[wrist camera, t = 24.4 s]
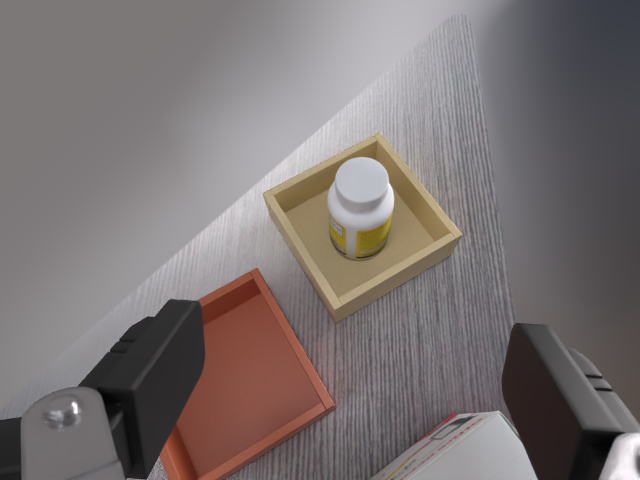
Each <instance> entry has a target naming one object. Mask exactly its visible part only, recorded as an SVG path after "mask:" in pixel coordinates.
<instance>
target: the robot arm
mask: <svg viewBox="0 0 640 480" xmlns="http://www.w3.org/2000/svg"><path fill="white" fill-rule="evenodd" d="M204 363H205V340H204V327H203V315H202V307H201V304H200V302H199V301H191V300H176V299H170V300H169V301H168V302H167V303H166V304H165V305H164V306H163V308H162V309H161V310H160V311H159V312H158V314H157V315H156V316H155V317H149V316H148V317H146V318H144V319H143V320H141V321H139V322H138V323H136V324H134V325H133V326H131V327H130V328H129V329H128V330H127V331H126V332H125V334H124V335H123V336H122V337H121V338H120V341H119V342H117V343H116V344H115V345H114V346H113V347H112V348H111V349H110V352H108V353H107V354H106V355H105V356H104V357H103V358H102V359H101V361H100V362H99V363H98V364H97V365H96V366H95V367H94V368H93V370H92V371H91V372H90V373H89V374H88V375H87V376H86V377H85V379H84V380H83V381H82V382H81V383H80V384H79V385H78V386H77V387H71V388H66V389H62V390H58V391H55V392H53V393H51V394H48V395H46V396H44V397H43V398H41V399H39V400H38V401H36V402H35V403H34V404H33V405H31V406H30V407H29V408H28V409H27V411H26V412H25V413H24V415H23V417H19V418H12V419H6V420H0V480H126V479H127V478H135V479H146V480H147V478H148V476H149V474H150V472H151V470H152V468H153V466H154V464H155V463H156V461H157V459H158V457H159V455H160V453H161V451H162V449H163V447H164V445H165V443H166V442H167V440H168V438H169V436H170V434H171V432H172V430H173V428H174V426H175V424H176V422H177V420H178V419H179V417H180V415H181V413H182V411H183V409H184V407H185V405H186V403H187V401H188V399H189V398H190V396H191V394H192V392H193V390H194V388H195V386H196V384H197V382H198V380H199V378H200V377H201V374H202V372H203V368H204ZM502 392H503V397H504V400H505V403H506V405H507V408H508V410H509V413H510V415H511V417H512V420H513V422H514V424H515V427H516V429H517V432H518V434H519V436H520V439H521V441H522V444H523V446H524V448H525V451H526V453H527V456H528V458H529V460H530V463H531V465H532V467H533V470H534V472H535V475H536V477H537V479H538V480H640V424H639V423H638V422H637V420H636V419H635V418H634V417H633V415H632V414H631V413H630V411H629V410H628V409H627V407H626V406H625V405H624V404H623V402H622V401H621V400H620V398H619V397H618V396H617V394H616V393H615V392H612V388H611V387H610V385H609V384H608V383H607V381H606V380H605V379H602V375H601V374H600V372H599V371H598V370H597V368H596V367H595V366H594V364H593V363H592V362H591V361H590V360H589V359H588V358H586V357H585V356H584V355H582V354H581V353H579V352H578V351H577V350H575V349H574V348H572V347H565V346H564V345H563V344H562V343H561V341H560V340H559V339H558V337H557V335H556V334H555V333H554V331H553V330H552V328H551V327H550V326H548V325H538V324H524V323H516V324H515V325H514V326H513V328H512V331H511V335H510V340H509V345H508V350H507V354H506V359H505V364H504V369H503V374H502Z"/></svg>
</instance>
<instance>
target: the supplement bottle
mask: <svg viewBox="0 0 640 480" xmlns="http://www.w3.org/2000/svg"><path fill="white" fill-rule="evenodd" d="M327 205H328V216H329V229H330V237H331V241H332V244H333V246H334V247H335V249H336V250H337V251H338V252H339V253H340V254H341V255H343V256H345V257H347V258H349V259H353V260H366V259H370V258H372V257H374V256H376V255H377V254H378V253H380V252H381V251H382V249H383V248H384V246H385V245H386V242H387V239H388V235H389V230H390V224H391V219H392V213H393V208H394V193H393V190H392V187H391V185H390V184H389V178H388V174H387V171H386V169H385V168H384V167H383V166H382V165H381V164H380V163H379V162H377V161H376V160H374V159H371V158H366V157H358V158H353V159H350V160H348V161H346V162H345V163H344V164H342V165H341V167H340V168H339V169H338V171H337V173H336V177H335V181H334V182H333V183H332V185H331V187H330V189H329V192H328V198H327Z"/></svg>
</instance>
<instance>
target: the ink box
mask: <svg viewBox="0 0 640 480" xmlns="http://www.w3.org/2000/svg"><path fill="white" fill-rule="evenodd" d="M370 480H538V479H537V477H536V475H535V472H534V470H533V467H532V465H531V463H530V460H529V458H528V456H527V453H526V451H525V448H524V446H523V444H522V441H521V439H520V436H519V434H518V432H517V431H516V430H515V428H514V427H513V426H512V425H511V424H510V422H509V421H508V420H507V419H506V418H505V416H504V415H503V414H502V413H501V412H500V411H496V412H486V413H472V414H452V415H450V416H449V417H448V418H446V419H445V420H444V421H442V422H441V423H440V424H439V425H437V426H436V427H435V428H434V429H432V430H431V431H430V432H429V433H427V434H426V435H425V436H424V437H422V438H421V439H420V440H419V441H417V442H416V443H415V444H414V445H413V446H411V447H410V448H409V449H407V450H406V451H405V452H403V453H402V454H401V455H400V456H398V457H397V458H396V459H395V460H393V461H392V462H391V463H390V464H388V465H387V466H386V467H385V468H383V469H382V470H381V471H380V472H378V473H377V474H376V475H375V476H373V477H372V478H371V479H370Z"/></svg>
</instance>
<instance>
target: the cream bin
mask: <svg viewBox="0 0 640 480" xmlns="http://www.w3.org/2000/svg"><path fill="white" fill-rule="evenodd" d="M358 157H366V158H371V159H374V160H376V161H377V162H379V163H380V164H381V165H382V166H383V167H384V168H385V169H386V171H387V174H388V178H389V184H390V185H391V187H392V190H393V193H394V208H393V213H392V219H391V224H390V230H389V235H388V239H387V242H386V245H385V246H384V248H383V249H382V251H381V252H380V253H378V254H377V255H376V256H374V257H372V258H370V259H366V260H353V259H349V258H347V257H345V256H343V255H341V254H340V253H339V252H338V251H337V250H336V249H335V247H334V246H333V244H332V241H331V237H330V229H329V216H328V205H327V198H328V192H329V189H330V187H331V185H332V183H333V182H334V181H335V177H336V173H337V171H338V169H339V168H340V167H341V165H342V164H344V163H345V162H346V161H348V160H350V159H353V158H358ZM263 196H264V199H265V202H266V205H267V208H268V211H269V214H270V217H271V219H272V220H273V222H274V224H275V225H276V227H277V228H278V230H279V232H280V233H281V235H282V237H283V238H284V240H285V242H286V243H287V245H288V246H289V248H290V250H291V251H292V253H293V255H294V256H295V258H296V260H297V261H298V263H299V265H300V266H301V268H302V269H303V271H304V273H305V274H306V276H307V278H308V279H309V281H310V283H311V284H312V286H313V287H314V289H315V291H316V292H317V294H318V296H319V297H320V299H321V301H322V302H323V304H324V305H325V307H326V309H327V310H328V312H329V314H330V315H331V317H332V319H333V320H334V322H335V323H338V322H340V321H341V320H343V319H345V318H346V317H348V316H350V315H351V314H353V313H355V312H356V311H358V310H360V309H361V308H363V307H365V306H367V305H368V304H370V303H372V302H373V301H375V300H377V299H378V298H380V297H382V296H383V295H385V294H387V293H388V292H390V291H392V290H393V289H395V288H397V287H398V286H400V285H402V284H403V283H405V282H407V281H408V280H410V279H412V278H414V277H415V276H417V275H419V274H420V273H422V272H424V271H425V270H427V269H429V268H430V267H432V266H434V265H435V264H437V263H439V262H440V261H442V260H444V259H445V258H447V257H449V256H450V255H451V254H452V252H453V250H454V248H455V247H456V245H457V243H458V241H459V240H460V238H461V236H462V234H461V232H460V231H459V230H458V229H457V227H456V226H455V225H454V224H453V223H452V221H451V220H450V219H449V218H448V216H447V215H446V214H445V213H444V211H443V210H442V209H441V208H440V206H439V205H438V204H437V203H436V201H435V200H434V199H433V198H432V196H431V195H430V194H429V193H428V191H427V190H426V189H425V188H424V186H423V185H422V184H421V183H420V181H419V180H418V179H417V178H416V176H415V175H414V174H413V173H412V171H411V170H410V169H409V168H408V167H407V165H406V164H405V163H404V162H403V160H402V159H401V158H400V157H399V155H398V154H397V153H396V152H395V150H394V149H393V148H392V147H391V145H390V144H389V143H388V142H387V140H386V139H385V138H384V137H383V135H382V134H381V133H380V132H379V133H377V134H375V135H374V136H371V137H369V138H367V139H366V140H364V141H362V142H360V143H358V144H356V145H354V146H352V147H350V148H348V149H346V150H345V151H343V152H341V153H339V154H337V155H335V156H333V157H331V158H329V159H327V160H325V161H324V162H322V163H320V164H318V165H316V166H314V167H312V168H310V169H308V170H306V171H304V172H303V173H301V174H299V175H297V176H295V177H293V178H291V179H289V180H287V181H285V182H283V183H282V184H280V185H278V186H276V187H274V188H272V189H270V190H268V191H266V192H264V193H263Z"/></svg>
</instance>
